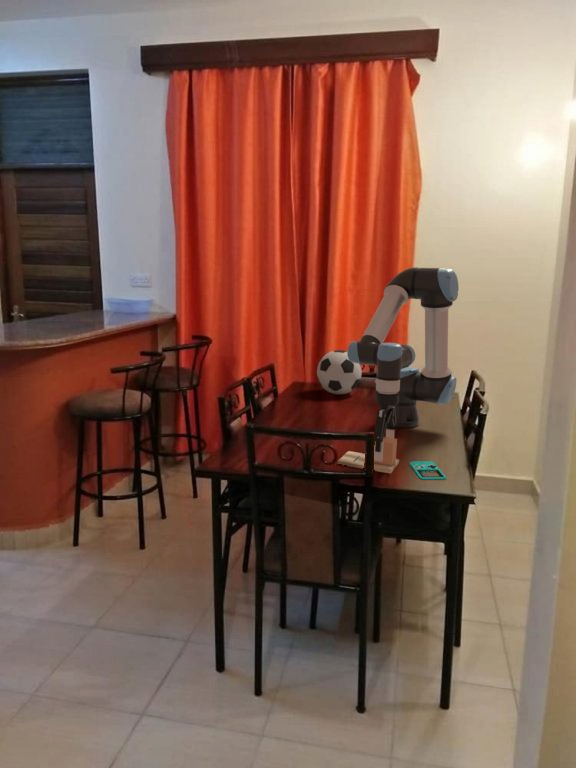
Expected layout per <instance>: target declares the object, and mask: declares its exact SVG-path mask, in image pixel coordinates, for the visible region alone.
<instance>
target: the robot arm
mask: <svg viewBox="0 0 576 768" xmlns="http://www.w3.org/2000/svg"><path fill="white" fill-rule="evenodd" d="M458 295H459V281H458V276H457V273H456V272H455V271H454V269H451V268H443V267H416V266H415V267H410V268H409V267H408V268H407V269H404V270H403V271H400V272H399V273H397V274H396V275H395V276H394V277H393V278H392V279H390V281H389V282H388V283H387V284H386V286H385V287H384V290H383V297H382V299H381V301H380V303H379V305H378V307H377V308H376V311H374V314H373V316H372V317H371V319H370V322H369V323H368V326H367V327H366V329H365V330H364V332H363V334H362V336H361V338H360V339H359V340H353V341H351V342H349V345H348V347H347V350H346V351H347V355H348V359H349V361H351V362H353V363H358V364H360V365H369V366H376V377H375V378H376V379H375V380H374V383H375V396H374V398H375V399H374V401H375V404H377V405H379V406H380V407H379V409H377V411H376V420H375V425H374V430H373V435H375V445H374V460H375V461H381V462H382V461H383V444H384V441H383V437H388V438H394V439H395V431H396V430H398V428H402V429H403V428H404V429H405V428H407V429H410V428H414V427H415V428H416V427H418V426H419V425H420V416H419V411H418V407H417V402H422V403H423V402H424V403H429V404H435V405H445V406H446V405H448V404H450V403H451V401H452V400H453V398H454V395H455V392H456V388H457V387H456V386H457V382H458V381H457V377H456V376H455V375H452V369H451V368H449V366H448V362H449V361H448V357H449V356H448V354H449V351H448V350H449V349H448V347H449V309H450V308H451V307H452V306H453V302H455V301H456V300H457V299H458V297H459V296H458ZM412 299H413V300H420V306H421V307H422V308H423V309H424V367H422V369H421V371H420V370H419V367H416V366H411V365H412V364H414V362H415V360H416V352H415V350H414V348H413V347H412V346H411V345H408V344H400V343H396V342H384V341H385V340H386V338H387V336H388V334H389V332H390V330H391V328H392V327H393V324H394V322H395V320H396V318H397V316H399V315H398V314H399V313H400V310H401V309H402V307H403V306H404V305H406V304H407V303H408V301H409V300H412ZM377 437H379V438H377Z"/></svg>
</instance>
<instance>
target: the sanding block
mask: <svg viewBox="0 0 576 768" xmlns="http://www.w3.org/2000/svg"><path fill="white" fill-rule="evenodd" d="M377 438H379V437H377ZM383 441H384V444H383V461H382V462H381V461H375V460H374V464H379V465H385V466H390V467H392V466H393V465H394V463H395V462H396V459H397V448H398V447H397V446H398V438H395V437H394V438H388V437H386V436H384V437H383Z"/></svg>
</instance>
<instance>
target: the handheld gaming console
mask: <svg viewBox="0 0 576 768" xmlns="http://www.w3.org/2000/svg"><path fill="white" fill-rule="evenodd" d="M409 465H410V467H411V468H412V470H413V471H414V472H415V474H416V476H417V477H418V478H419V479H420V480H425V481H433V480H435V481H437V480H439V481H440V480H442V481H444V480H447V476H446V475H445V474H444V473H443V471H442V470H441V469H440V468H439V467H438V466H437V464H436V463H435V462H434V461H431V460H430V461H425V460H424V461H411V462H410V463H409ZM428 471H435V472H437V471H438V472H439V473H438V472H437V473H438V474H439V476H437V475H435V476H431V475H429V474H430V473H428V474H427V473H426V472H428ZM423 474H426V476H425V475H423Z"/></svg>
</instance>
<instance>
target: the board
mask: <svg viewBox="0 0 576 768" xmlns="http://www.w3.org/2000/svg"><path fill="white" fill-rule="evenodd" d="M365 454H366V453H362V452H357V451H356V452H355V451H350V450H348V451H347V452H345V454H344V455H342V457H340V458H339V459H338V460H337V465H338V464H342V465H341V466H344V465H347V466H346V467H350V468H356V469H363V468H364V463H365ZM399 463H400V459H398V458H396V462H395V463H394V465H393V466H392V467H390V466H385V465H379V464H374V470H375V472H380V473H385V474H390V475H391V474H392V473H393V471H394V470H395V469H396V468H397V467H398V465H399ZM363 470H364V469H363Z"/></svg>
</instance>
